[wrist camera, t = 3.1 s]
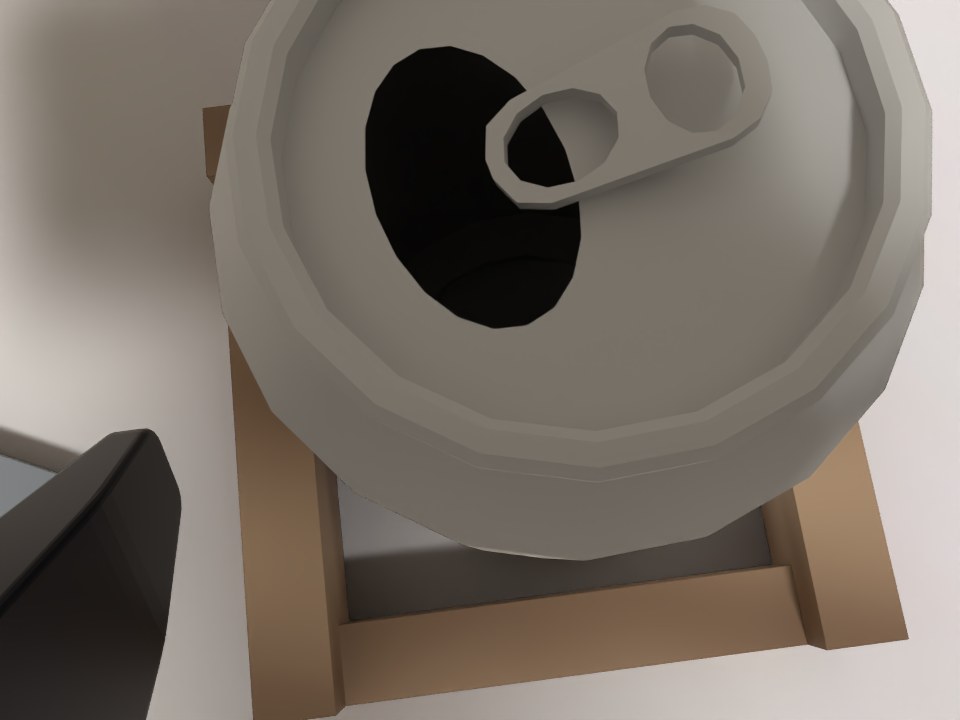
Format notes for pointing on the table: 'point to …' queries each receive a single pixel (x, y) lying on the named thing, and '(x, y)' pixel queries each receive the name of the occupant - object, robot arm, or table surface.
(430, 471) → the can
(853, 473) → the brown square frame
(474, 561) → the table surface
